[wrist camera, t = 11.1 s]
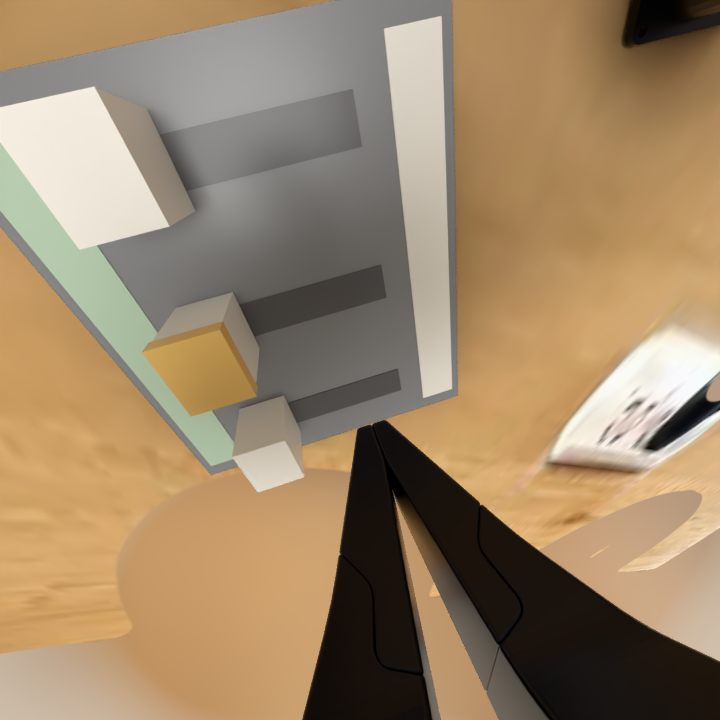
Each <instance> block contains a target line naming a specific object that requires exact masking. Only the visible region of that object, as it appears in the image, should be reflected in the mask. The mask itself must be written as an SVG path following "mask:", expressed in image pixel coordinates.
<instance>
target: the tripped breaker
mask: <svg viewBox="0 0 720 720" xmlns="http://www.w3.org/2000/svg"><path fill="white" fill-rule="evenodd" d="M259 350H260V348H259V346H258V344H257V341H256V339H255V337H254V335H253V333H252V331H251V329H250V327H249V325H248V323H247V321H246V319H245V316H244V314H243V312H242V310H241V308H240V306H239V304H238V302H237V300H236V298H235V296H234V294H233V292H231V293H227V294H223V295H220V296H216V297H213V298H209V299H205V300H202V301H198V302H195V303H191V304H188V305H184V306H180V307H177V308H175V309H174V311H173V312H172V314H171V315H170V316H169V318H168V319H167V321H166V322H165V323H164V325H163V326H162V328H161V329H160V331H159V332H158V333H157V335H156V336H155V338H154V339H153V341H152V342H149V343H148V344H147V346H146V347H145V348H144V350H143V351H142V353H143V355H144V356H145V357H146V358H147V360H148V361H149V362H150V364H151V365H152V366H153V368H154V369H155V370H156V372H157V373H158V374H159V375H160V377H161V378H162V379H163V381H164V382H165V383H166V385H167V386H168V387H169V388H170V390H171V391H172V392H173V394H174V395H175V396H176V398H177V399H178V400H179V401H180V403H181V404H182V405H183V407H184V408H185V409H186V411H187V412H188V413H189V415H190V416H191V417H192V416H195V415H198V414H202V413H205V412H208V411H211V410H215V409H218V408H221V407H224V406H228V405H231V404H234V403H237V402H241V401H244V400H247V399H250V398H254V397H257V384H256V382H257V371H258V360H259Z"/></svg>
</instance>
